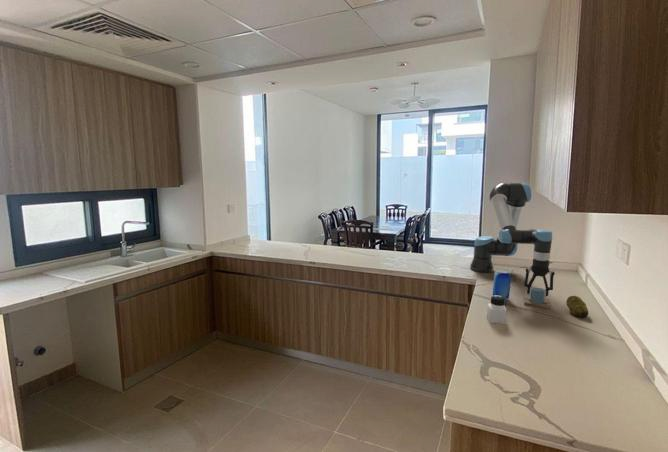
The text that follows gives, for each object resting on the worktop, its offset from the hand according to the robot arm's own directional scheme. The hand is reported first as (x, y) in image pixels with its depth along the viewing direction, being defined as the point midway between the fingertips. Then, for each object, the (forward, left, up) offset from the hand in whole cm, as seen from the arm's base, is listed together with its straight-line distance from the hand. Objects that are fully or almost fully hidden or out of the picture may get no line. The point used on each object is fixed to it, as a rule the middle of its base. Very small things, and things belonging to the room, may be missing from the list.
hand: (536, 300), depth 193 cm
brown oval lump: (+7, +17, -2) cm, 19 cm away
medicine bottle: (+33, -19, -2) cm, 38 cm away
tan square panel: (0, 0, -1) cm, 1 cm away
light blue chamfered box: (0, 0, 0) cm, 0 cm away
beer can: (+2, -18, -2) cm, 18 cm away
